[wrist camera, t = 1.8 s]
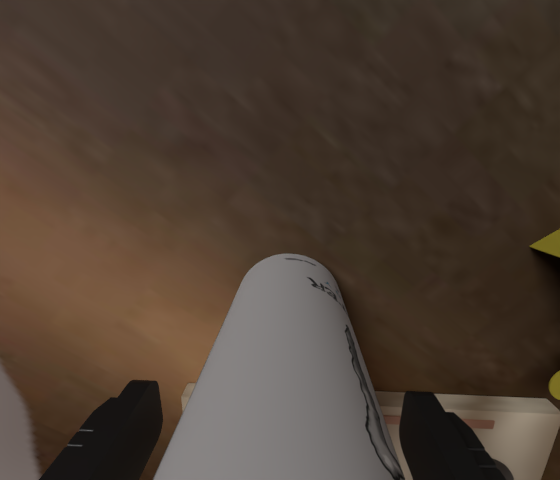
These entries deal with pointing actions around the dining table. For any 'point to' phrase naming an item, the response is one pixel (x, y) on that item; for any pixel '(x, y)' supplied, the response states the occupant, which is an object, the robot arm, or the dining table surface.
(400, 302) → the dining table surface
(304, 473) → the energy drink can
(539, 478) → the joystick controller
